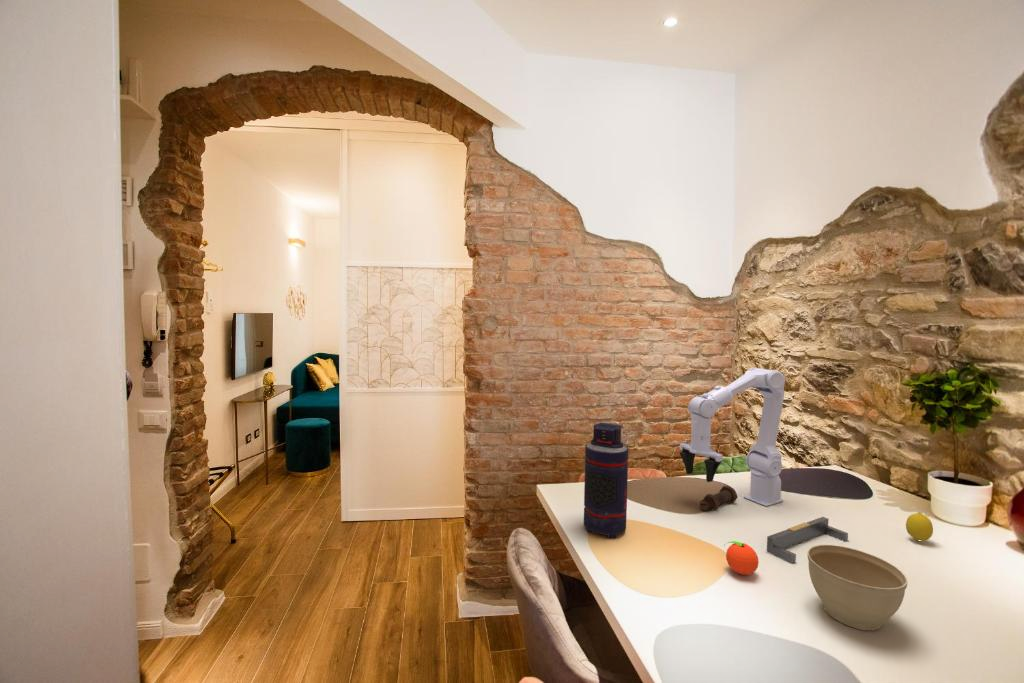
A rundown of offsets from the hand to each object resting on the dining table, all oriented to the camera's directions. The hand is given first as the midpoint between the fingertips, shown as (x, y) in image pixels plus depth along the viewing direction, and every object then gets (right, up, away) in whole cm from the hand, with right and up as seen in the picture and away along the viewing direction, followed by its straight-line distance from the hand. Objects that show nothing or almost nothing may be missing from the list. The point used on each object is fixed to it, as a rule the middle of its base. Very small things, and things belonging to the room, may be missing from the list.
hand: (699, 477), depth 144 cm
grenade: (-33, -10, -14) cm, 37 cm away
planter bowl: (+10, -13, -52) cm, 54 cm away
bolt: (+6, -10, +2) cm, 12 cm away
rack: (+19, -11, -23) cm, 32 cm away
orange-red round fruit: (-5, -12, -36) cm, 38 cm away
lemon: (+52, -12, -20) cm, 57 cm away
